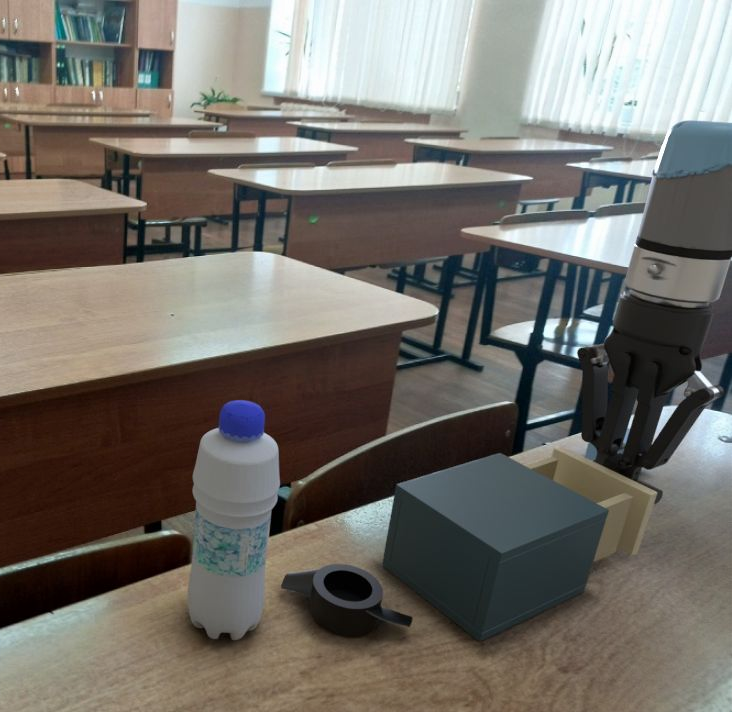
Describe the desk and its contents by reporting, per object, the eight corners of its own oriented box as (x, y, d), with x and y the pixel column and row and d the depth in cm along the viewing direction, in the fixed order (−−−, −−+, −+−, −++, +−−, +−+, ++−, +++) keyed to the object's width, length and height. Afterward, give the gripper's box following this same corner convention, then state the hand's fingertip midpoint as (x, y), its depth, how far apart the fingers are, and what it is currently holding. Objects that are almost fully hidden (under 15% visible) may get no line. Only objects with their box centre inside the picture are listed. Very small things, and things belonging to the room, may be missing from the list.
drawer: (573, 491, 82) (589, 436, 80) (666, 539, 74) (686, 480, 71) (463, 532, 73) (477, 472, 71) (554, 592, 65) (573, 526, 63)
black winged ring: (349, 668, 57) (354, 638, 56) (272, 592, 65) (275, 564, 64) (419, 635, 60) (425, 607, 59) (338, 567, 68) (342, 541, 67)
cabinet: (482, 527, 76) (500, 452, 73) (584, 592, 67) (609, 509, 64) (381, 565, 69) (396, 484, 66) (479, 642, 60) (501, 553, 57)
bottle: (278, 639, 59) (305, 417, 52) (202, 658, 57) (220, 429, 50) (241, 587, 65) (262, 381, 58) (171, 603, 63) (183, 390, 55)
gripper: (578, 281, 71) (525, 491, 79) (724, 321, 61) (645, 558, 69) (622, 275, 75) (567, 476, 83) (768, 311, 64) (688, 538, 73)
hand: (603, 513), depth 76 cm, fingers closed
